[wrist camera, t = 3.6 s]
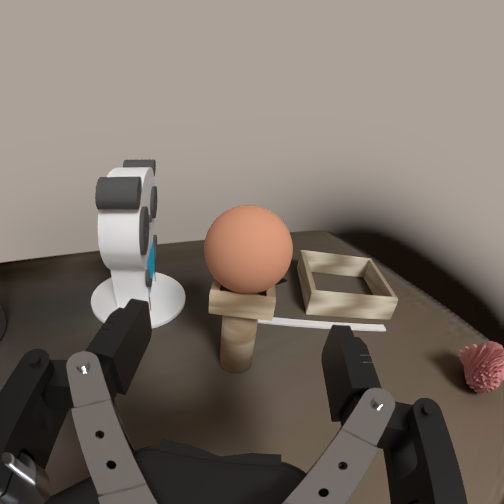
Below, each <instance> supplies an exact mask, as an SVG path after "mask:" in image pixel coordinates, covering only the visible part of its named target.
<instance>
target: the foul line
mask: <svg viewBox="0 0 504 504" xmlns="http://www.w3.org/2000/svg"><path fill="white" fill-rule="evenodd" d="M258 323H263V324H273V325H284V326H295V327H308V328H322V329H331V327H332V325H349V326H350V327H351V330H359V331H386V329H385V327H384V325H375V324H353V323H336V322H322V321H308V320H297V319H285V318H275V317H273V319H272V321H269V320H260V319H258Z"/></svg>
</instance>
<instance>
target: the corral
mask: <svg viewBox="0 0 504 504" xmlns="http://www.w3.org/2000/svg"><path fill="white" fill-rule="evenodd" d="M297 270H298V275H299V280H300V285H301V290H302V295H303V301H304V306H305V311H306V314H309V315H321V316H335V317H350V318H367V319H389V320H390V319H391V316H392V314H393V312H394V309H395V307H396V305H397V302H398V298H397V297H396V295H395V294H394V292H393V291H392V289H391V288H390V286H389V285H388V283H387V282H386V280H385V279H384V277H383V276H382V274H381V273H380V271H379V270H378V268H377V267H376V265H375V264H374V262H373V261H372V260H371V259H369V258H361V257H353V256H345V255H337V254H329V253H321V252H313V251H305V250H301V251H300V256H299V261H298V266H297ZM311 272H318V273H328V274H337V275H346V276H355V277H363V278H364V279H365V281H366V283H367V285H368V287H369V288H370V290H371V292H372V294H373V295H362V294H351V293H340V292H329V291H319V290H316V288H315V284H314V280H313V277H312V273H311Z"/></svg>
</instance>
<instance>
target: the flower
mask: <svg viewBox="0 0 504 504" xmlns="http://www.w3.org/2000/svg"><path fill="white" fill-rule="evenodd" d="M464 349H465V352H464V351H461V350H459V351H460V353H461V355H458V357H459V358H460V361H461V362H462V364H463V366H464V372H465V380H466V382H467V384H468V385H469V388H471V389H473V390H474V391H476V392H481V393H489V392H490V391H492V390H494V389H497V388H498V386H500V382H501V381H503V380H504V349H503V348H502V345H500V344H498V343H497V342H492V341H488V342H485V343H482V344H480V345H478V346H476V345H475V344H473V346H472V349H470V348H468V347H466V346H465V347H464Z"/></svg>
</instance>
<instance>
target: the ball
mask: <svg viewBox="0 0 504 504" xmlns="http://www.w3.org/2000/svg"><path fill="white" fill-rule="evenodd" d="M292 252H293V249H292V240H291V236H290V233H289V231H288V229H287V227H286V226H285V225H284V223H283V221H282V220H281V219H280V218H279V217H278V216H276V215H275V214H274V213H273V212H271V211H269V210H267V209H265V208H262V207H258V206H254V205H244V206H238V207H234V208H232V209H230V210H227V211H226V212H224V213H223V214H221V215H220V216H219V217H218V218H217V219H216V220H215V221H214V222H213V224H212V225H211V227H210V228H209V230H208V233H207V235H206V239H205V244H204V255H205V260H206V263H207V266H208V269H209V270H210V272H211V274H212V275H213V277H214V278H215V279H216V280H217V281H218V282H219V283H220V284H221V285H223V286H224V287H226V288H228V289H230V290H232V291H235V292H238V293H245V294H252V293H259V292H262V291H265V290H267V289H269V288H271V287H273V286H274V285H275V284H277V283H278V282H279V281H280V280H281V279H282V278H283V276H284V275H285V273H286V272H287V270H288V268H289V266H290V263H291V259H292Z"/></svg>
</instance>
